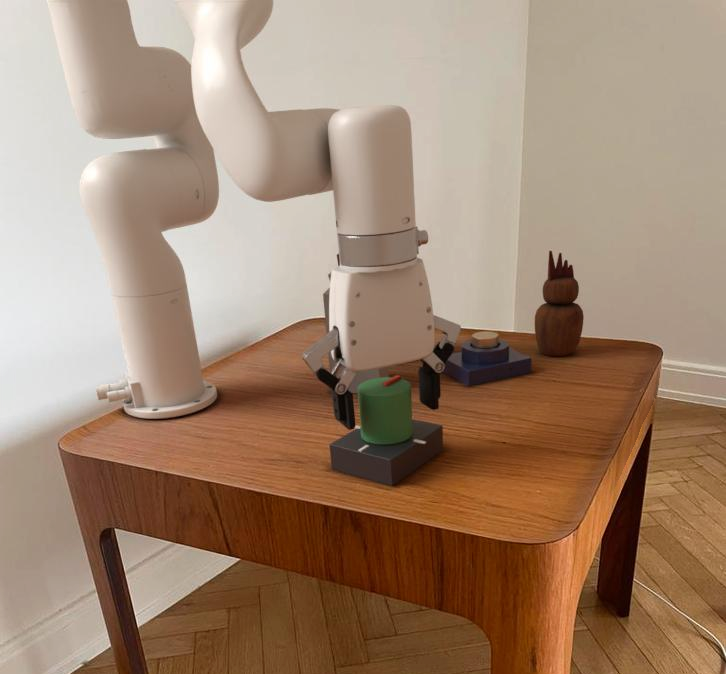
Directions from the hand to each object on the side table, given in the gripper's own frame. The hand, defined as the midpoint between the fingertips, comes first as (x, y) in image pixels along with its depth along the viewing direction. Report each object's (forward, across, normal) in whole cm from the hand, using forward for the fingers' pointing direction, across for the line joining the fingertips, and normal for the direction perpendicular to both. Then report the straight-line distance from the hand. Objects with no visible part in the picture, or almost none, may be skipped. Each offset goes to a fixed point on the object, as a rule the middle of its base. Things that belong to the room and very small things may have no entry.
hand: (388, 415), depth 79 cm
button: (+2, -24, -19) cm, 31 cm away
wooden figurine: (+6, -37, -20) cm, 42 cm away
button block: (+5, -24, -19) cm, 31 cm away
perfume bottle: (+5, -7, -24) cm, 26 cm away
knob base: (+5, 0, 0) cm, 5 cm away
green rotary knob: (+2, 0, 0) cm, 2 cm away
